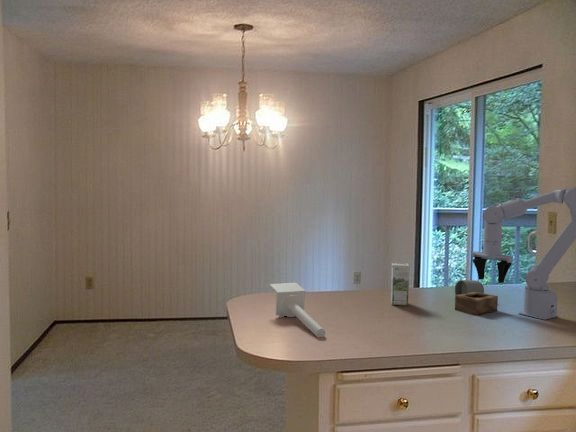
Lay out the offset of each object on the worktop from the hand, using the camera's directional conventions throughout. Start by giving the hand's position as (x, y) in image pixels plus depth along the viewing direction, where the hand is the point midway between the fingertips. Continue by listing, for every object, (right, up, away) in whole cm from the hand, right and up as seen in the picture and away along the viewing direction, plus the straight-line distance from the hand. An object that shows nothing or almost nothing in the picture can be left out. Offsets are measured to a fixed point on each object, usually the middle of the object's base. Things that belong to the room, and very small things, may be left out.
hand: (491, 280), depth 188 cm
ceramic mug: (-3, -9, +16) cm, 19 cm away
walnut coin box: (-5, -10, -1) cm, 11 cm away
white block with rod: (-66, -11, -20) cm, 69 cm away
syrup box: (-30, -9, +7) cm, 32 cm away
